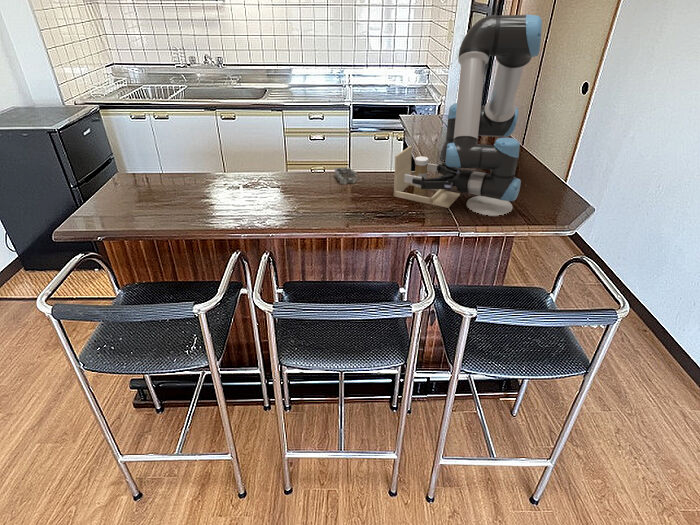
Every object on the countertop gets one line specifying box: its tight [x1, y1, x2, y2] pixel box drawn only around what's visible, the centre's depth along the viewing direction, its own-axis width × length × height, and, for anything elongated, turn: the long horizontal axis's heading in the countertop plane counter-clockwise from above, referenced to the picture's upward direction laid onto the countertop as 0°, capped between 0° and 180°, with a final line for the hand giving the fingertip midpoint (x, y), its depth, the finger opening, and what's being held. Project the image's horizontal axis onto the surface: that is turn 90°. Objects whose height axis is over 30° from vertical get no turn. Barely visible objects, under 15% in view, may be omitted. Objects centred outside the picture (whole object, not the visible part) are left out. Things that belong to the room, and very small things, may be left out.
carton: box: [393, 145, 461, 209], centre depth 154 cm, size 21×13×15 cm, turn 59°
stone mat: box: [466, 195, 513, 217], centre depth 149 cm, size 15×15×1 cm
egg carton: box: [334, 166, 358, 185], centre depth 172 cm, size 11×8×4 cm
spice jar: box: [412, 156, 429, 196], centre depth 155 cm, size 5×5×14 cm
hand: (412, 171), depth 156 cm, fingers open, 13 cm apart
